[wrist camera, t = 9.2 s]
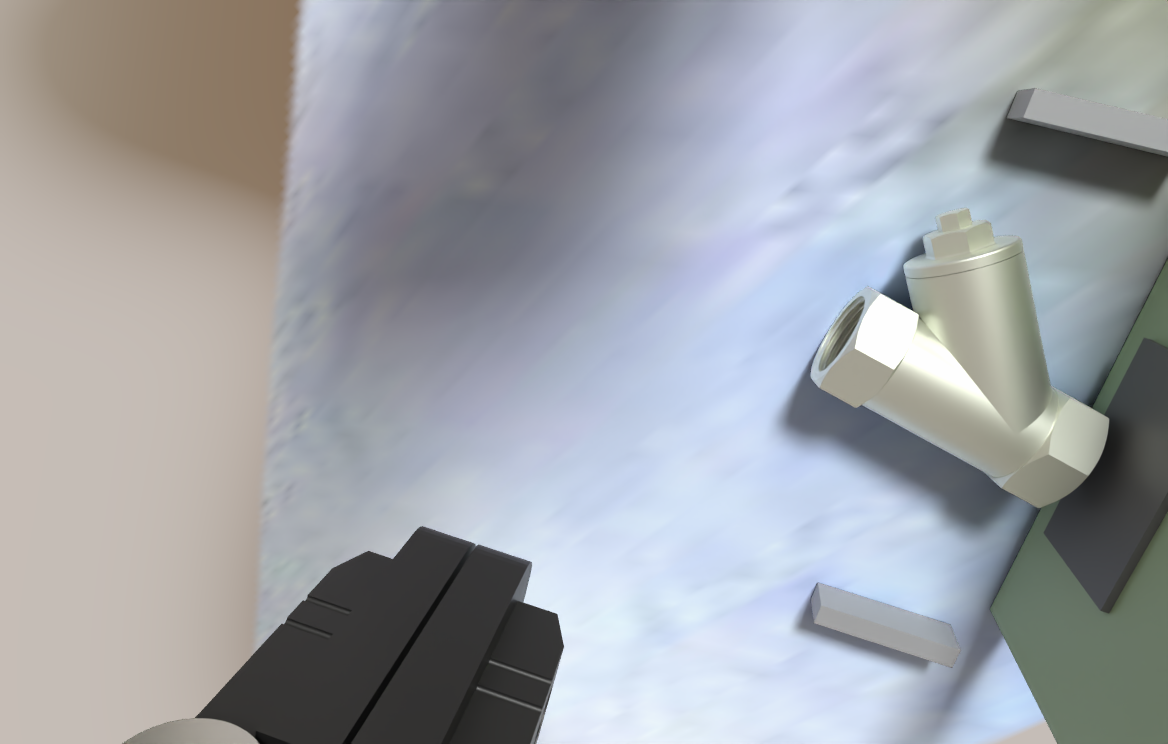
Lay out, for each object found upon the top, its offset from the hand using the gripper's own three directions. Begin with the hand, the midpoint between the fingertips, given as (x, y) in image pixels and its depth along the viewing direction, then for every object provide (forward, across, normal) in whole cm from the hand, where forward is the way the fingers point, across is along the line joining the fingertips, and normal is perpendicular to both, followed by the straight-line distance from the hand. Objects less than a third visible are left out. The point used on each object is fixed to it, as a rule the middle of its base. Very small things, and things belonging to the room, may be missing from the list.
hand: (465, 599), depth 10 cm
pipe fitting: (+19, -11, -2) cm, 22 cm away
